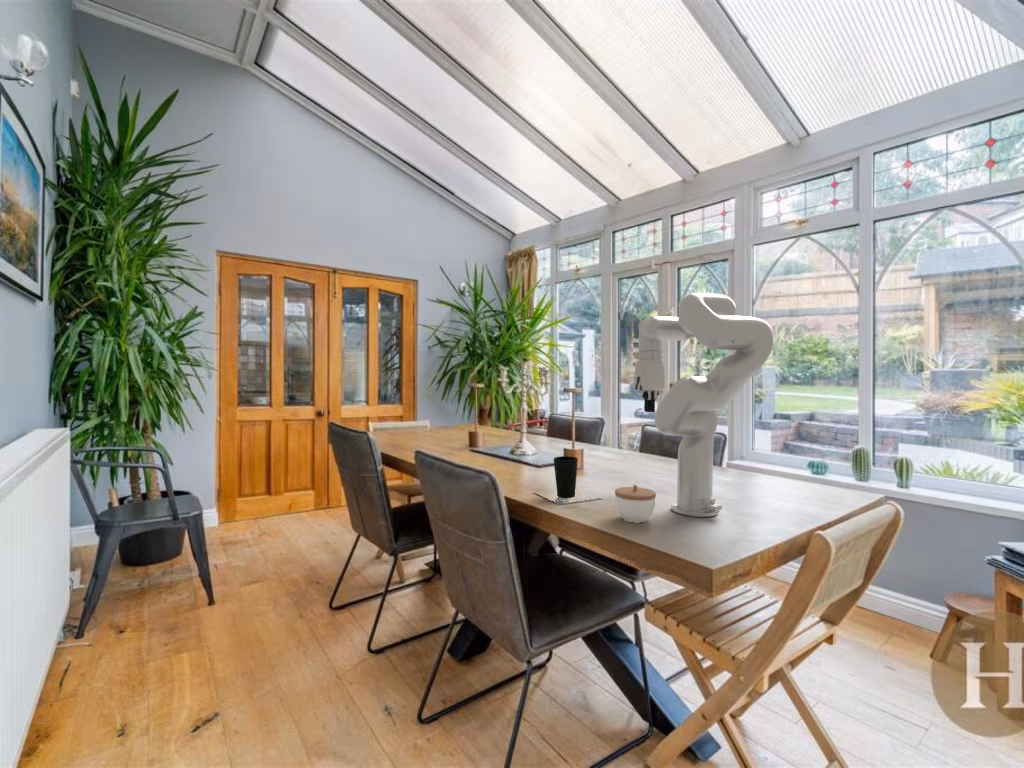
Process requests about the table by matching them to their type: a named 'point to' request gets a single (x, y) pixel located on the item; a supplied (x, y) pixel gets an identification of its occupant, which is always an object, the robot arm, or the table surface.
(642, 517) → the lidded jar
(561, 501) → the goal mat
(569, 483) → the cup
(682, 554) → the table surface
